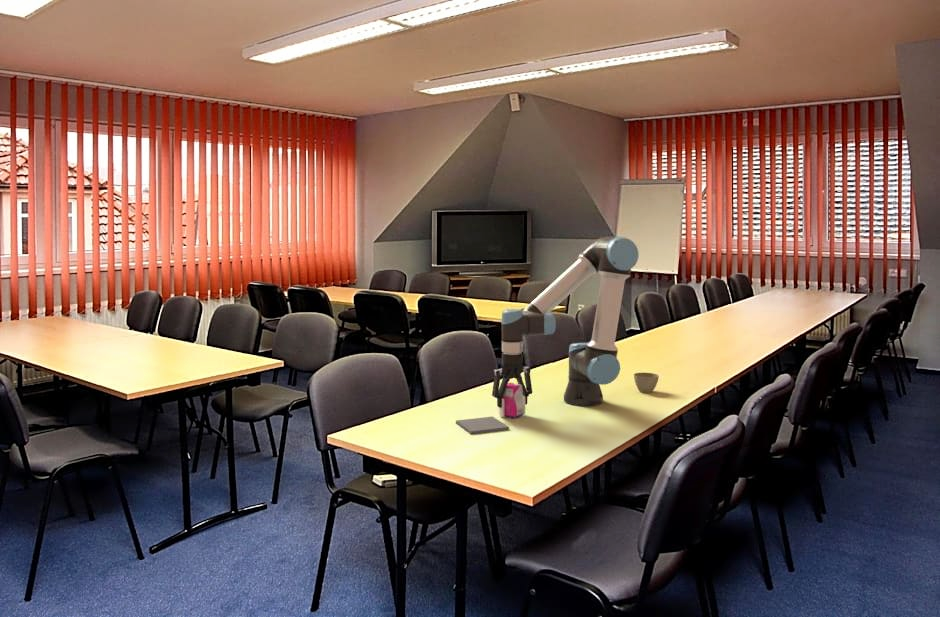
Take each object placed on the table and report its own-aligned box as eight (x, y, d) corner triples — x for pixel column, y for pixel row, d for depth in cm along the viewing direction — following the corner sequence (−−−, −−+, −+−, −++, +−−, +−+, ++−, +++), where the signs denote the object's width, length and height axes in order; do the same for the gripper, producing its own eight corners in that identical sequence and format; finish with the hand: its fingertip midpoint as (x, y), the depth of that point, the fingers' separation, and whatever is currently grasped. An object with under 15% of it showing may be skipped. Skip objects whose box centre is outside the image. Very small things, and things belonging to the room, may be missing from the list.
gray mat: (492, 419, 263) (492, 416, 262) (509, 429, 250) (509, 426, 249) (455, 423, 257) (455, 420, 257) (470, 434, 244) (470, 431, 244)
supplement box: (510, 412, 270) (510, 381, 269) (523, 415, 267) (523, 384, 265) (500, 415, 266) (500, 384, 265) (514, 418, 262) (514, 387, 261)
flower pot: (661, 390, 304) (662, 373, 303) (653, 396, 296) (654, 378, 295) (638, 387, 310) (638, 371, 309) (629, 392, 301) (630, 375, 300)
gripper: (533, 348, 271) (533, 409, 274) (481, 353, 263) (482, 415, 266) (542, 352, 264) (542, 414, 267) (490, 356, 256) (490, 420, 259)
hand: (512, 414), depth 266 cm, fingers closed on supplement box, 8 cm apart
